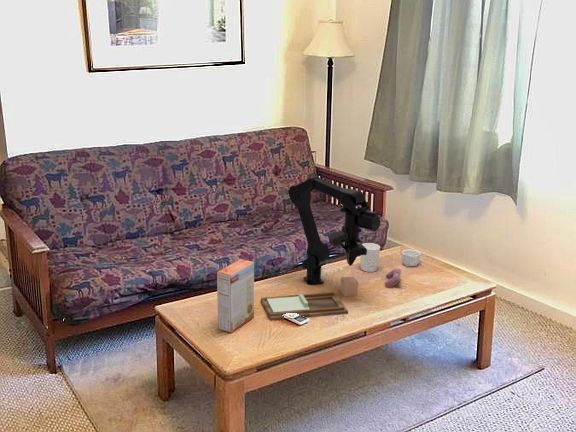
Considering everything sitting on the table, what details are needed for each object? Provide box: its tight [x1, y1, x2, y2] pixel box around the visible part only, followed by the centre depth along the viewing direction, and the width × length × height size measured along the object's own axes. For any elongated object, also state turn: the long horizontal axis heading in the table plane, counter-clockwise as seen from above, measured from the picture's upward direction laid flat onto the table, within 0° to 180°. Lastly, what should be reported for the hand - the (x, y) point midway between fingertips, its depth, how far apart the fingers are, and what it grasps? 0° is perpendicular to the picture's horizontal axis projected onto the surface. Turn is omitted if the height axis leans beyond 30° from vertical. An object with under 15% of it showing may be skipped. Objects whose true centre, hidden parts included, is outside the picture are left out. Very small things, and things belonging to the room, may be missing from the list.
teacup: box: [401, 249, 422, 267], centre depth 287 cm, size 10×8×5 cm
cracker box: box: [216, 258, 255, 334], centre depth 228 cm, size 14×6×21 cm, turn 150°
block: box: [339, 276, 359, 297], centre depth 258 cm, size 5×5×6 cm
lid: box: [267, 293, 310, 313], centre depth 243 cm, size 11×13×2 cm
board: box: [260, 291, 349, 321], centre depth 245 cm, size 16×28×2 cm, turn 104°
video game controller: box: [384, 267, 402, 288], centre depth 268 cm, size 10×5×7 cm, turn 169°
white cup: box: [360, 242, 381, 273], centre depth 280 cm, size 8×8×10 cm
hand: (349, 264), depth 255 cm, fingers closed
